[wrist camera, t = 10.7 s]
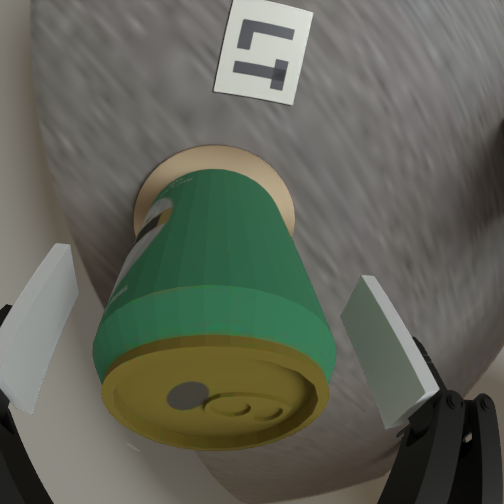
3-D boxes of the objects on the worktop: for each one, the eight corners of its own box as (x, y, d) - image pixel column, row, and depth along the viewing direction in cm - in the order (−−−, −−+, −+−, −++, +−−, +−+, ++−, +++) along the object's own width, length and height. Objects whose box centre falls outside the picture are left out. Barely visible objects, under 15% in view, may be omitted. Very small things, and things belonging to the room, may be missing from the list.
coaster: (139, 136, 15) (137, 138, 14) (309, 160, 17) (312, 162, 16) (137, 278, 20) (135, 283, 19) (272, 291, 22) (274, 297, 21)
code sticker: (234, -5, 11) (234, -5, 11) (312, 12, 12) (313, 12, 12) (213, 91, 14) (213, 91, 14) (292, 105, 15) (292, 105, 15)
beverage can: (179, 141, 15) (99, 271, 5) (303, 200, 17) (401, 362, 7) (133, 254, 18) (79, 425, 8) (241, 295, 21) (263, 461, 11)
